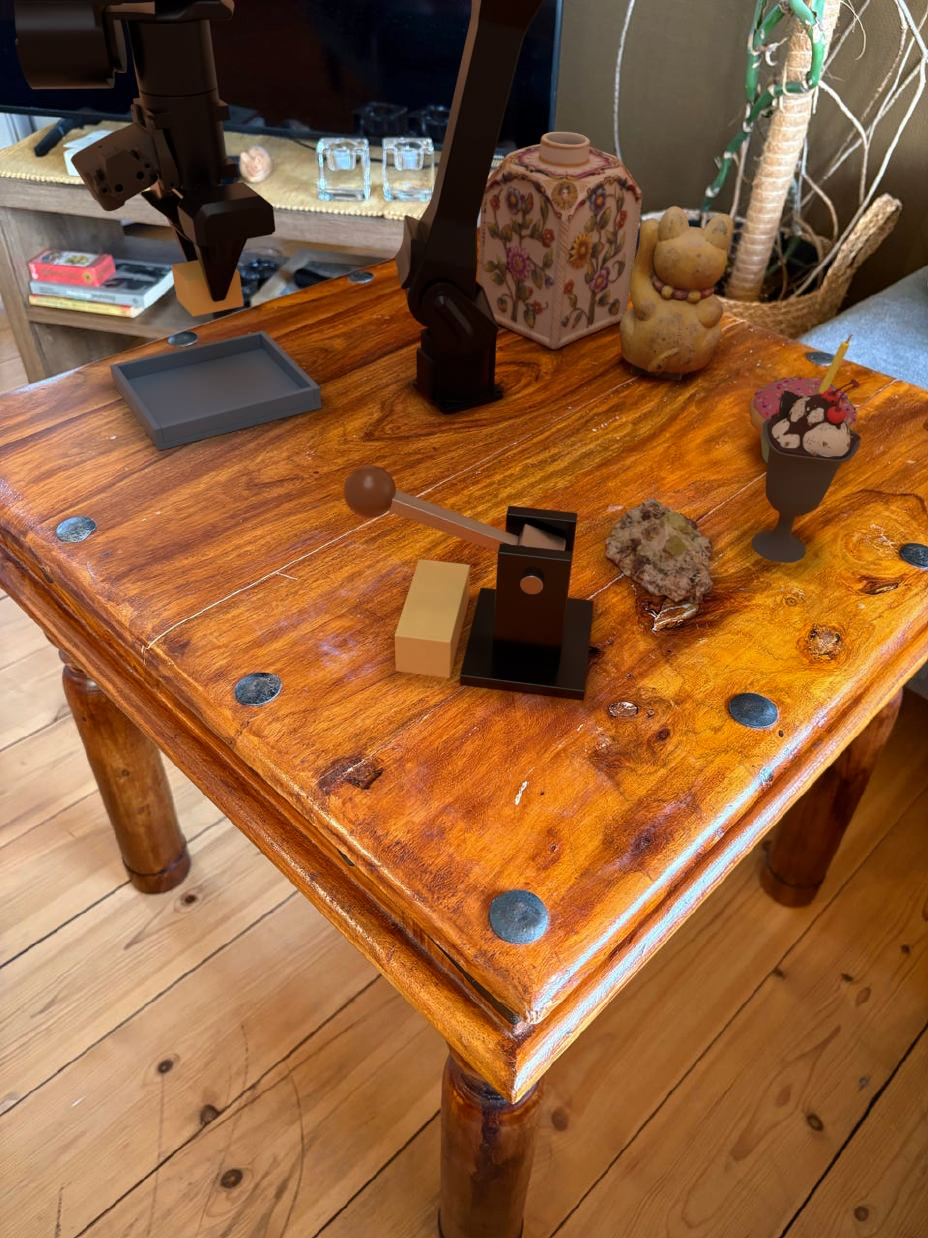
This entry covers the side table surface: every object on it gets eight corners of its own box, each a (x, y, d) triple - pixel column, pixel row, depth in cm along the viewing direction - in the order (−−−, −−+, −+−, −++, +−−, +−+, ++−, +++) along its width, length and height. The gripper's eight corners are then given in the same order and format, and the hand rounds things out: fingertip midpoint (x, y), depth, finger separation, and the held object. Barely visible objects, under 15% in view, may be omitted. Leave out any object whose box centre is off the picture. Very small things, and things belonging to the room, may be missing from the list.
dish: (266, 349, 99) (263, 329, 97) (321, 408, 90) (320, 387, 89) (114, 385, 93) (109, 364, 91) (158, 451, 84) (154, 429, 83)
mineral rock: (583, 506, 75) (682, 470, 75) (592, 546, 79) (686, 512, 79) (635, 598, 68) (745, 558, 68) (642, 639, 71) (747, 601, 71)
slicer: (459, 688, 64) (462, 569, 57) (479, 599, 71) (484, 484, 64) (583, 704, 63) (600, 585, 57) (592, 613, 70) (608, 497, 63)
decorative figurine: (713, 355, 100) (744, 202, 90) (714, 395, 94) (748, 236, 84) (617, 346, 101) (637, 194, 91) (612, 385, 95) (633, 226, 85)
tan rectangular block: (419, 597, 71) (418, 558, 68) (469, 603, 70) (470, 564, 68) (395, 674, 65) (394, 635, 62) (450, 681, 64) (450, 642, 62)
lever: (332, 516, 60) (345, 476, 58) (345, 487, 62) (358, 447, 60) (545, 597, 62) (565, 560, 59) (550, 565, 64) (569, 529, 62)
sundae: (826, 582, 73) (888, 399, 63) (733, 569, 74) (779, 387, 64) (820, 530, 78) (877, 353, 68) (733, 519, 79) (776, 342, 69)
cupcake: (847, 448, 87) (888, 318, 79) (831, 497, 81) (874, 362, 73) (750, 425, 90) (780, 297, 82) (727, 471, 84) (758, 338, 76)
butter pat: (226, 288, 86) (222, 254, 85) (244, 306, 84) (239, 271, 82) (176, 299, 85) (170, 264, 83) (192, 317, 82) (186, 281, 80)
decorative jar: (473, 314, 106) (478, 133, 94) (549, 286, 112) (562, 112, 100) (555, 353, 99) (571, 165, 87) (630, 321, 105) (655, 140, 94)
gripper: (36, 70, 76) (83, 270, 86) (105, 134, 64) (151, 357, 75) (176, 55, 81) (205, 247, 91) (266, 113, 69) (288, 325, 79)
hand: (209, 290), depth 84 cm, fingers closed on butter pat, 4 cm apart
